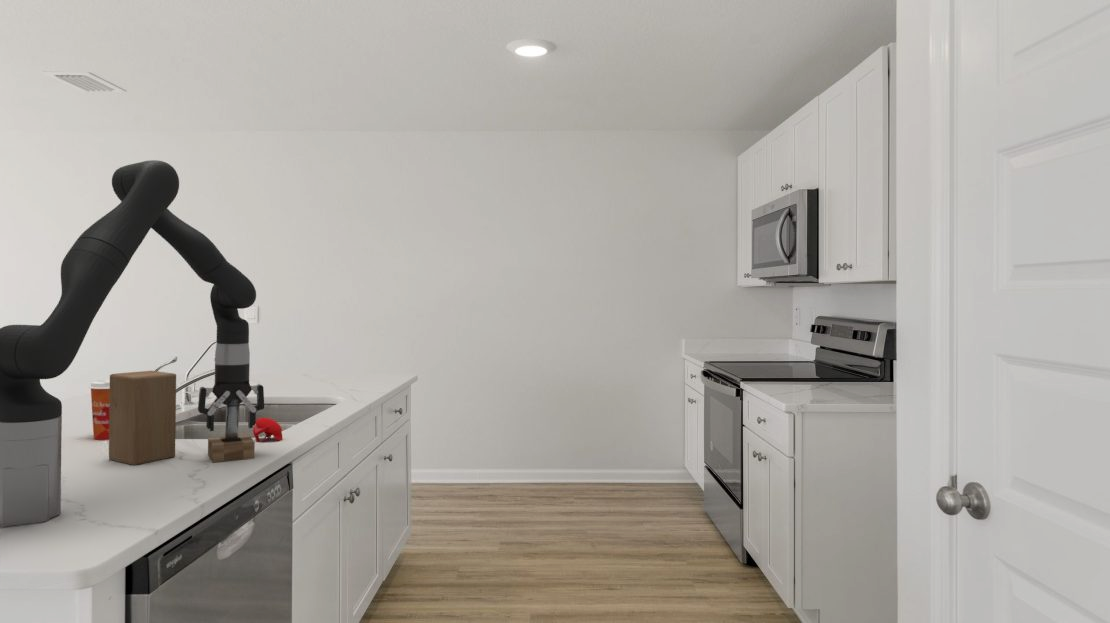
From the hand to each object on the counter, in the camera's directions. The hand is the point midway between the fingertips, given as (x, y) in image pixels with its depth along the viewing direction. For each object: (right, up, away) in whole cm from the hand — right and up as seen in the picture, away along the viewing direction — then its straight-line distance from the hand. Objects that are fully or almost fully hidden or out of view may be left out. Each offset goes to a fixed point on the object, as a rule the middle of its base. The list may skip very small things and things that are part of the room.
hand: (231, 429), depth 161 cm
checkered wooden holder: (0, -7, 0) cm, 7 cm away
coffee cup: (-41, -5, +16) cm, 44 cm away
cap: (+1, -6, +19) cm, 20 cm away
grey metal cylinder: (0, -6, 0) cm, 7 cm away
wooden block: (-19, -6, -4) cm, 20 cm away
